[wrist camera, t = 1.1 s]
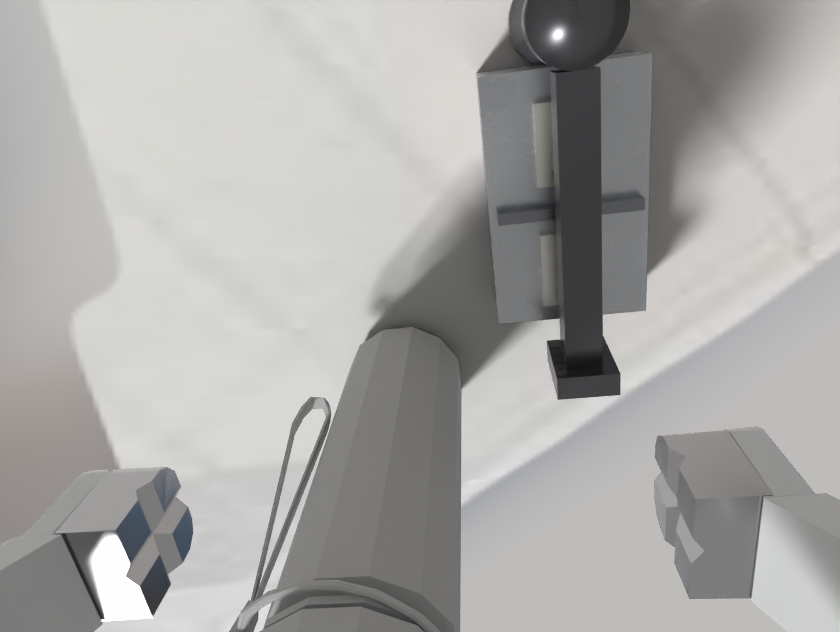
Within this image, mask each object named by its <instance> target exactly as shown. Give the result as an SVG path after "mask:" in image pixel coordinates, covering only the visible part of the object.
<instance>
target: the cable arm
mask: <svg viewBox="0 0 840 632" xmlns="http://www.w3.org/2000/svg"><path fill="white" fill-rule="evenodd" d="M629 14H630V1H629V0H525V1H524V4H523V8H522V14H521V27H522V33H523V37H524V39H525V42H526V44H527V46H528V48H529V49H530V51H531V52H532V53H533V54H534V55H535V56H536V57H537V58H538V59H539V60H540V61H542V62H544V63H545V64H547V65H550V66H552V67H555V68H557V69H559V70H552V71H550V89H551V114H552V139H553V164H554V189H555V214H556V239H557V264H558V289H559V314H560V340H550V341H547V354H548V363H549V367H550V371H551V374H552V378H553V382H554V386H555V390H556V394H557V398H558V400H559V399H572V398H586V397H599V396H612V395H620V372H619V370H618V368H617V365H616V363H615V361H614V359H613V357H612V355H611V352H610V350H609V348H608V346H607V344H606V341H605V339H604V337H603V322H602V183H601V67H598V66H594V65H596V64H598V63H600V62H601V61H603V60H604V59H605V58H607V57H608V56H609V55H610V54H611V53H612V52H613V51H614V50H615V48H616V47H617V46H618V44H619V43H620V41H621V39H622V37H623V35H624V33H625V31H626V28H627V24H628V20H629Z"/></svg>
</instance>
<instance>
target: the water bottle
mask: <svg viewBox="0 0 840 632" xmlns="http://www.w3.org/2000/svg"><path fill="white" fill-rule="evenodd" d="M312 409H324V412H325V415H326V419H325V421H324V424H323V426H322V429H321V432H320V434H319V437H318V439H317V442H316V444H315V447H314V449H313V452H312V454H311V457H310V459H309V462H308V464H307V467H306V469H305V472H304V475H303V477H302V480H301V482H300V485H299V487H298V490H297V492H296V495H295V497H294V500H293V502H292V505H291V507H290V510H289V512H288V515H287V518H286V520H285V523H284V525H283V528H282V530H281V533H280V535H279V538H278V540H277V543H276V545H275V548H274V550H273V553H272V556H271V558H270V561H269V563H268V566H267V568H266V571H265V573H264V576H263V578H262V581H261V583H260V580H261V576H262V572H263V567H264V563H265V559H266V555H267V550H268V546H269V542H270V538H271V533H272V529H273V525H274V521H275V516H276V512H277V508H278V504H279V499H280V495H281V491H282V487H283V482H284V478H285V474H286V470H287V465H288V461H289V457H290V453H291V448H292V444H293V440H294V436H295V433H296V431H297V429H298V427H299V426H300V424H301V422H302V420H303V418H304V417H305V416H306V415H307V414H308V413H309V412H310V411H311V410H312ZM330 419H331V410H330V405H329V403H328V402H327V401H326V399H325V398H319V397H318V398H317V397H310V398H309V399H308V400H307V401H306V403H305V404H304V405H303V406H302V407H301V409H300V410H299V412H298V414H297V416H296V417H295V419H294V421H293V423H292V427H291V431H290V435H289V440H288V444H287V448H286V452H285V457H284V461H283V465H282V469H281V474H280V478H279V482H278V487H277V491H276V495H275V499H274V504H273V508H272V512H271V516H270V521H269V525H268V529H267V533H266V538H265V542H264V546H263V551H262V555H261V559H260V563H259V568H258V572H257V576H256V580H255V585H254V589H253V593H252V597H251V601H250V600H249V601H248V602H247V604H246V605H245V607H244V609H243V610H242V611H241V613H240V615H239V617H238V618H237V620H236V621H235V623H234V625H233V626H232V628H231V630H230V631H229V632H253V631H254V629H255V626H256V623H257V621H258V611H259V610H260V609H261V608H262V607H264V606H266V605H268V604H269V603H271V602H272V604H271V607H270V610H269V613H268V616H267V619H266V622H265V625H264V628H263V630H262V631H260V632H460V553H461V547H460V546H461V540H460V539H461V377H460V370H459V362H458V358H457V357H456V356H455V355H454V354H453V352H452V351H451V350H450V349H449V348H448V347H447V345H446V344H445V343H444V342H443V341H442V339H441V338H439V337H437V336H434V335H432V334H429V333H427V332H424V331H421V330H419V329H416V328H414V327H406V328H396V329H386V330H382V331H380V332H379V333H377V334H376V335H374V336H373V337H371V338H370V339H369V340H367V341H366V342H364V343H363V344H361V345H360V346H359V349H358V351H357V354H356V356H355V358H354V361H353V363H352V366H351V368H350V371H349V374H348V377H347V380H346V383H345V386H344V389H343V392H342V395H341V398H340V401H339V404H338V407H337V410H336V413H335V416H334V419H333V422H332V425H331V428H330V431H329V434H328V437H327V440H326V443H325V446H324V449H323V452H322V455H321V458H320V461H319V464H318V467H317V470H316V473H315V476H314V479H313V482H312V485H311V488H310V491H309V494H308V497H307V499H306V502H305V505H304V508H303V511H302V514H301V517H300V520H299V523H298V526H297V529H296V532H295V535H294V538H293V541H292V544H291V547H290V550H289V553H288V556H287V559H286V562H285V565H284V568H283V571H282V574H281V577H280V580H279V583H278V586H277V589H274V590H271V591H268V592H267V593H265V594H264V595H263V592H264V590H265V587H266V585H267V582H268V580H269V577H270V575H271V572H272V570H273V567H274V565H275V562H276V560H277V557H278V555H279V552H280V550H281V547H282V545H283V542H284V540H285V537H286V535H287V532H288V530H289V527H290V525H291V522H292V520H293V517H294V515H295V512H296V510H297V507H298V505H299V502H300V500H301V497H302V495H303V492H304V490H305V487H306V485H307V482H308V480H309V477H310V475H311V472H312V470H313V467H314V465H315V462H316V460H317V457H318V455H319V452H320V450H321V447H322V445H323V442H324V440H325V437H326V435H327V432H328V428H329V424H330ZM259 584H260V586H259ZM262 595H263V596H262Z"/></svg>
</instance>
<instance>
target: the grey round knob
mask: <svg viewBox="0 0 840 632" xmlns="http://www.w3.org/2000/svg"><path fill="white" fill-rule="evenodd" d="M524 1H525V0H513V1H512V4H511V7H510V11H509V19H508V26H509V33H510V37H511V39H512V42H513V44H514V46H515V48H516V49H517V51H518V52H519V53H520V54H521V55H522V56H523V57H524V58H525V59H526V60H528V61H529V62H531V63H533V64H536V65H545V63H544V62H542V61H540V60H539V59H538V58H537V57H536V56H535V55H534V54H533V53H532V52H531V51H530V49H529V48H528V46H527V44H526V42H525V39H524V37H523V33H522V27H521V14H522V8H523V4H524Z"/></svg>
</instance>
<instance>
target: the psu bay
mask: <svg viewBox="0 0 840 632" xmlns="http://www.w3.org/2000/svg"><path fill="white" fill-rule="evenodd" d="M652 59H653V53H647V52H639V51H633V52H626V53H619V54H612V55H609V56H608V57H607V58H605V59H604V60H603V61H601V62H600V63H598V64H596V65H594V66H598V67H601V183H602V315H603V314H614V313H625V312H636V311H646V291H647V252H648V214H649V175H650V136H651V98H652ZM552 70H559V69H557V68H555V67H552V66H550V65H547V64H545V65H532V66H525V67H517V68H510V69H503V70H496V71H488V72H481V73H476V77H477V88H478V100H479V111H480V123H481V134H482V146H483V157H484V168H485V180H486V191H487V203H488V214H489V226H490V237H491V249H492V260H493V272H494V283H495V294H496V305H497V313H498V321H499V324H503V323H514V322H525V321H536V320H547V319H558V318H560V314H559V289H558V264H557V239H556V214H555V189H554V164H553V139H552V114H551V89H550V71H552Z"/></svg>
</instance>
